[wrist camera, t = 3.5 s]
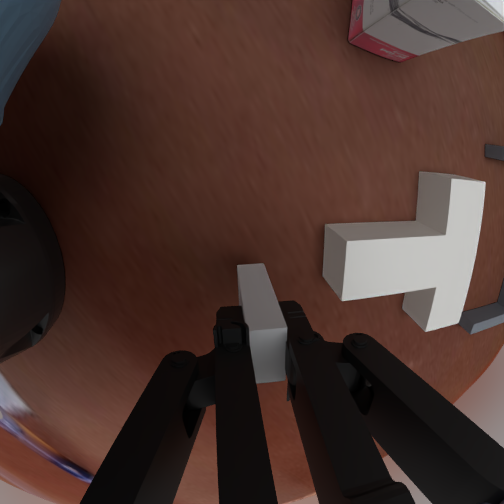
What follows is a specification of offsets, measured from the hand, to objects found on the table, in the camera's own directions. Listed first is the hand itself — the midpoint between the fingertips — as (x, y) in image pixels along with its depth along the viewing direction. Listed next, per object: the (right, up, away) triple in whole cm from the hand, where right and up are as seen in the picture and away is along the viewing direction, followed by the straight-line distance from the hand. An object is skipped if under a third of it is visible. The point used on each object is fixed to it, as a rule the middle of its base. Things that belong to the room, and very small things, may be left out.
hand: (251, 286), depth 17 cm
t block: (+11, +2, +5) cm, 13 cm away
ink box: (+10, +20, -1) cm, 23 cm away
